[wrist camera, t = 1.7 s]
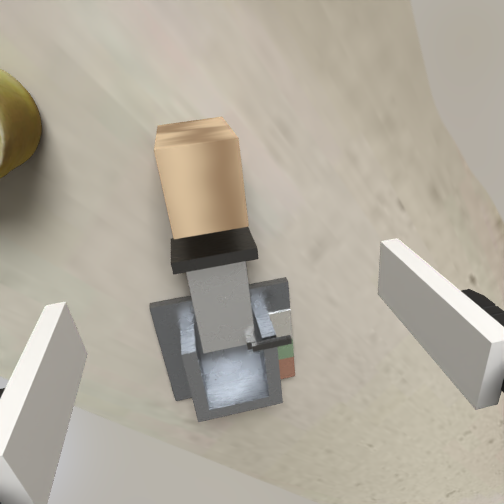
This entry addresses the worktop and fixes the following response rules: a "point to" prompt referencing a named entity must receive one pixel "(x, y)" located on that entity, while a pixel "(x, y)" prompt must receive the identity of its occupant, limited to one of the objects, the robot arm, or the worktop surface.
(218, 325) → the grey blocky piece
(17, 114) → the mug
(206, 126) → the block
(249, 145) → the worktop surface
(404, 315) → the robot arm
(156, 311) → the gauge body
